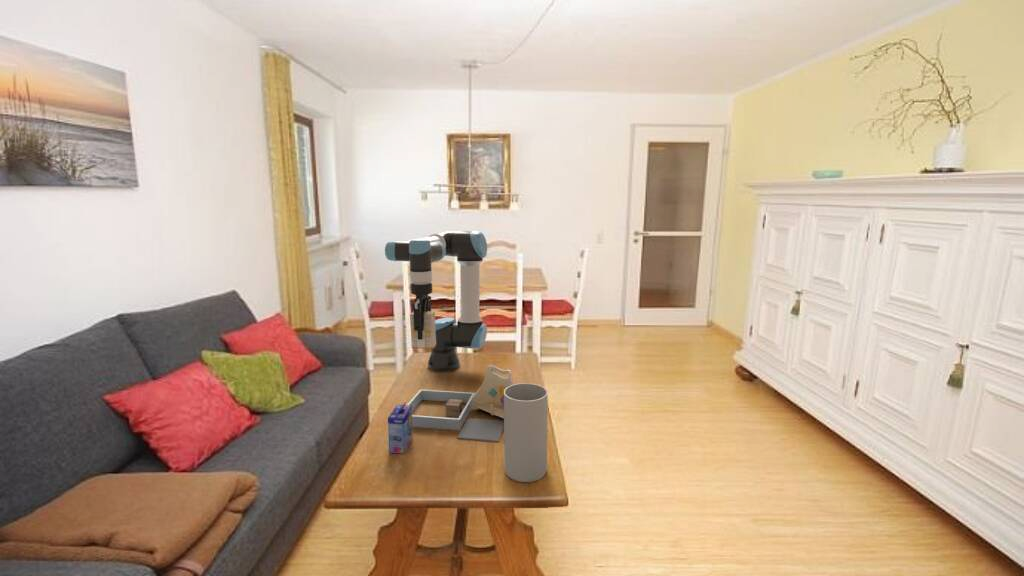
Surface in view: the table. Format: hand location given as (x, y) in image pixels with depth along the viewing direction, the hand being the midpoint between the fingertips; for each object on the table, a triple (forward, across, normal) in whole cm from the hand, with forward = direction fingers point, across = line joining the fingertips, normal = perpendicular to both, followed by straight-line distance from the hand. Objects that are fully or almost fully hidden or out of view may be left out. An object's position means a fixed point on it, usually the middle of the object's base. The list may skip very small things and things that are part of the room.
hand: (424, 344), depth 169 cm
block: (+27, 0, +11) cm, 29 cm away
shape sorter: (+27, -2, +28) cm, 38 cm away
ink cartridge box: (+27, +24, -1) cm, 36 cm away
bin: (+27, 0, +5) cm, 27 cm away
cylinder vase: (+27, +33, +41) cm, 59 cm away
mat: (+27, +10, +24) cm, 37 cm away
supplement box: (+1, 0, 0) cm, 1 cm away
